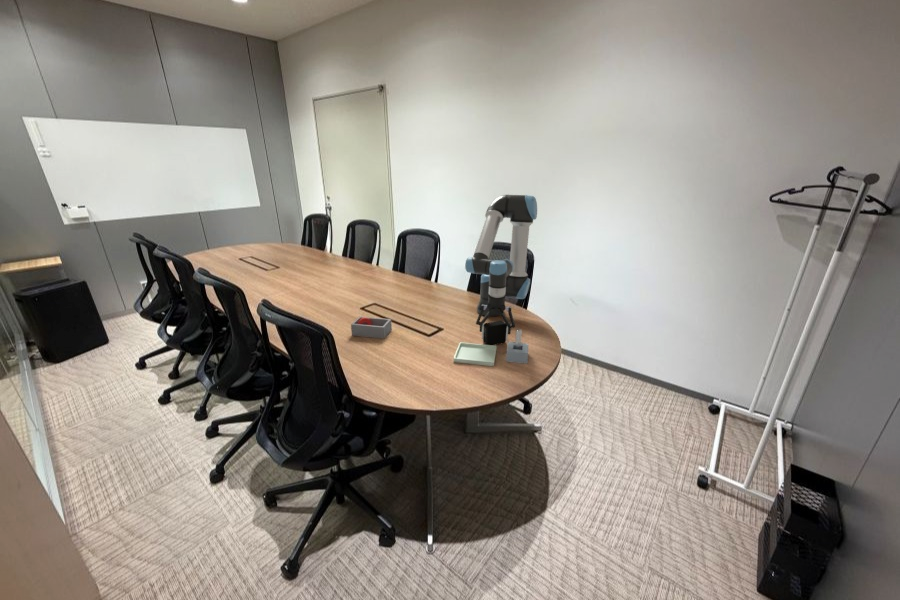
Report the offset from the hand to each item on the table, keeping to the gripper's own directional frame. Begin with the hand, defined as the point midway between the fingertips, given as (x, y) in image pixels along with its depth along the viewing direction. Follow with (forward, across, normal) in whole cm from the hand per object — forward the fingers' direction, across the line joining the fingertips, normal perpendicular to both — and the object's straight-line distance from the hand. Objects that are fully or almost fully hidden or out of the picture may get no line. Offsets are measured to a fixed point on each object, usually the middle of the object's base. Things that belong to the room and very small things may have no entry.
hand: (494, 339), depth 172 cm
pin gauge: (+1, +11, -12) cm, 16 cm away
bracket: (+3, -62, -1) cm, 62 cm away
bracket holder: (+2, -61, -2) cm, 61 cm away
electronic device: (+2, 0, 0) cm, 2 cm away
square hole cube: (+2, +11, -12) cm, 16 cm away
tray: (+2, -7, -14) cm, 16 cm away
